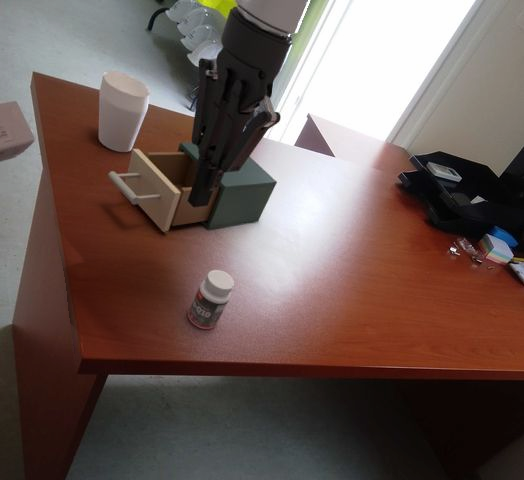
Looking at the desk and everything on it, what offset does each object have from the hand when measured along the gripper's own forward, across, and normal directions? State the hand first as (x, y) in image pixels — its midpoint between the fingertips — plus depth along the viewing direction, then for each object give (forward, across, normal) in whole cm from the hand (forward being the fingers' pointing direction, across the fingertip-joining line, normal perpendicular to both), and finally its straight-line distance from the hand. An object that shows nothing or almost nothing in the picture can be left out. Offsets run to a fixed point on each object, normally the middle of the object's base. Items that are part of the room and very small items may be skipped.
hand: (197, 203), depth 65 cm
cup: (+14, +36, -13) cm, 41 cm away
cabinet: (+14, +14, -22) cm, 30 cm away
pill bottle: (+14, -10, +2) cm, 17 cm away
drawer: (+13, +15, -8) cm, 21 cm away
